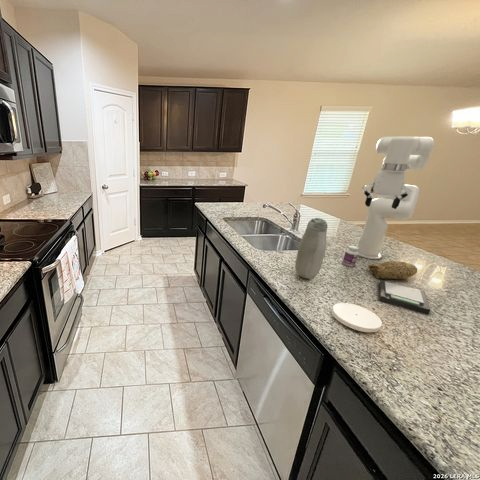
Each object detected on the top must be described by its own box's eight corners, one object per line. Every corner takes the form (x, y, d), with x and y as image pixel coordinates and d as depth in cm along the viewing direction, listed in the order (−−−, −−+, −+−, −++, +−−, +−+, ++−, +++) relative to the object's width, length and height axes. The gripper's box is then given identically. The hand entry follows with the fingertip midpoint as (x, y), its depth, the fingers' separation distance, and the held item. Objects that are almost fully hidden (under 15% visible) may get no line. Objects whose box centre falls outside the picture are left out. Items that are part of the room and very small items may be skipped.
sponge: (381, 284, 114) (431, 279, 110) (380, 268, 112) (431, 262, 109) (362, 275, 126) (407, 270, 123) (361, 260, 125) (406, 254, 122)
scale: (378, 284, 112) (380, 278, 111) (422, 295, 103) (424, 289, 102) (379, 300, 100) (381, 294, 99) (428, 315, 92) (431, 308, 91)
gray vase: (320, 282, 112) (337, 223, 102) (296, 280, 114) (310, 221, 104) (313, 272, 121) (327, 216, 111) (290, 270, 123) (302, 215, 113)
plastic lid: (366, 311, 94) (368, 305, 93) (389, 338, 81) (391, 331, 80) (324, 306, 96) (326, 300, 96) (340, 331, 84) (342, 324, 83)
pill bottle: (353, 267, 126) (358, 250, 122) (340, 264, 130) (345, 247, 126) (355, 264, 129) (361, 247, 126) (343, 261, 133) (349, 244, 129)
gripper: (415, 168, 108) (400, 207, 114) (366, 166, 114) (355, 203, 120) (424, 169, 101) (408, 211, 107) (372, 167, 107) (360, 207, 113)
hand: (380, 207), depth 114 cm, fingers open, 9 cm apart
